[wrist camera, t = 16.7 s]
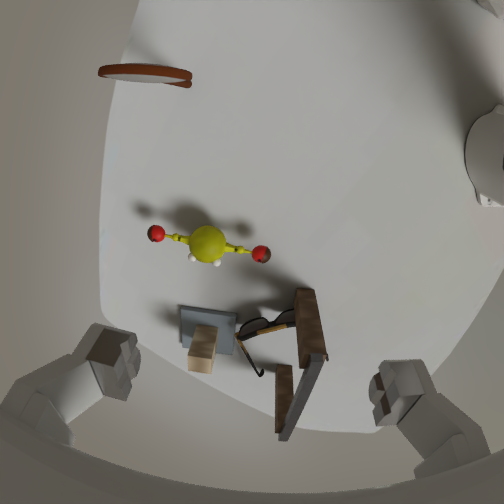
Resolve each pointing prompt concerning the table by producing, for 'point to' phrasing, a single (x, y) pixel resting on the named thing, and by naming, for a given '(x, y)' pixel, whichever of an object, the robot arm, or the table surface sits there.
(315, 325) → the rod stand
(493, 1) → the geodesic sphere
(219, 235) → the toy figure
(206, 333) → the block
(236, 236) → the table surface
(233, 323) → the pad
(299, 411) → the rod
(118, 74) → the magnifying glass
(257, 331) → the sunglasses
